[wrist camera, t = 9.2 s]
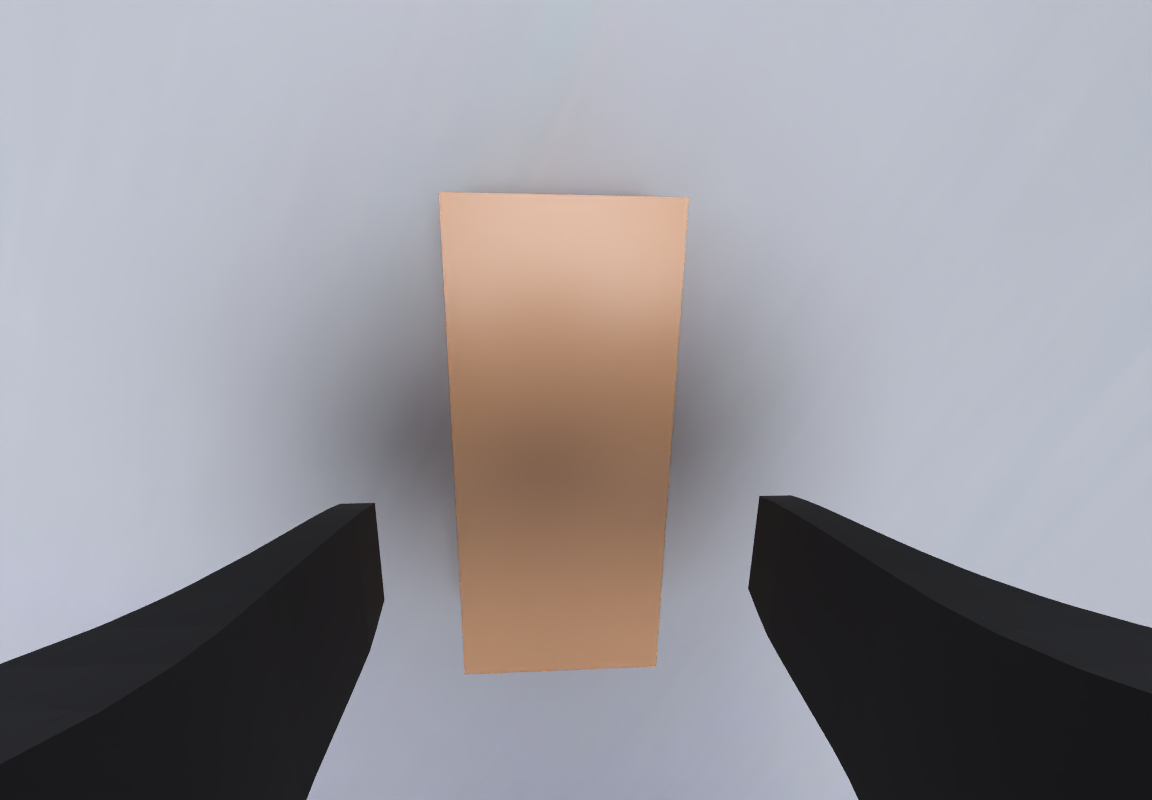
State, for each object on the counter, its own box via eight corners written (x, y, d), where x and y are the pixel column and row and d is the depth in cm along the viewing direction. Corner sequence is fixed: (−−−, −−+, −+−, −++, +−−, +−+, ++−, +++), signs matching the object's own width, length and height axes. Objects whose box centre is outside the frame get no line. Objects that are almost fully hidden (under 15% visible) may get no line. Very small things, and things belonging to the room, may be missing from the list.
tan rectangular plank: (634, 588, 19) (656, 665, 16) (478, 593, 19) (464, 674, 15) (654, 205, 15) (688, 197, 12) (461, 202, 15) (438, 192, 12)
